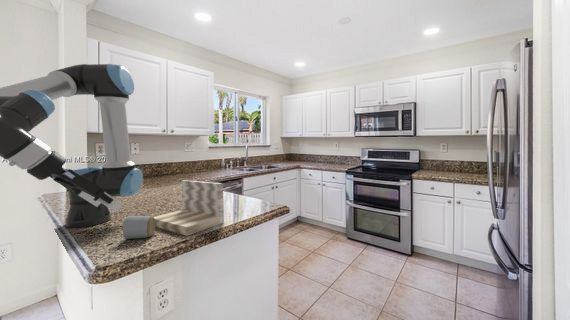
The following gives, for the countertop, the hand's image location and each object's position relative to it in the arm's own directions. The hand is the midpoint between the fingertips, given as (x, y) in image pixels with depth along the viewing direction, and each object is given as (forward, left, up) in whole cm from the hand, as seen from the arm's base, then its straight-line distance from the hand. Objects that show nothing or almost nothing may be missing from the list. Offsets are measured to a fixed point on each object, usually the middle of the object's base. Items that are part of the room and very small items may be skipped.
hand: (109, 205), depth 76 cm
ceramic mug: (-1, +9, -13) cm, 16 cm away
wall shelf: (+1, +25, -13) cm, 28 cm away
